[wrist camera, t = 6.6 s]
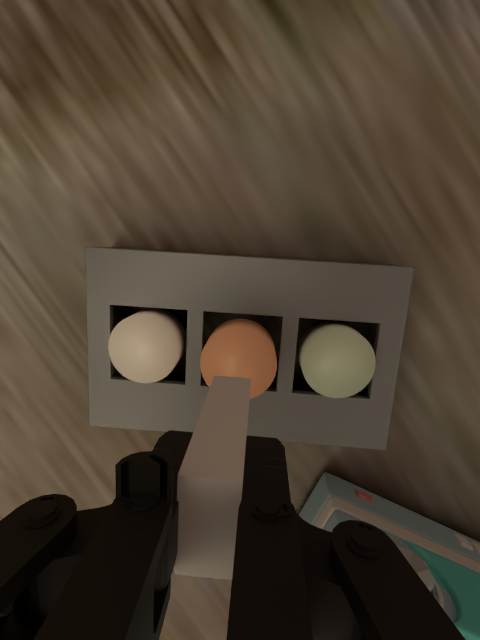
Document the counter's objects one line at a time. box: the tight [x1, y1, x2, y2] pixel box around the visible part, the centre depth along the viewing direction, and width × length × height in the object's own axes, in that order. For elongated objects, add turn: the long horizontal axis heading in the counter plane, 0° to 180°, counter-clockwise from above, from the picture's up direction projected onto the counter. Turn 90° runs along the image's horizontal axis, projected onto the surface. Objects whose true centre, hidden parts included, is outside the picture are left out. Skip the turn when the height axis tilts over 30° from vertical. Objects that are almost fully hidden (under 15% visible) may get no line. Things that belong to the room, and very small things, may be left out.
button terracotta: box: [200, 319, 277, 399], centre depth 22 cm, size 4×4×2 cm
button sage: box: [298, 320, 376, 398], centre depth 23 cm, size 4×4×2 cm
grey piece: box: [85, 247, 414, 450], centre depth 25 cm, size 20×12×4 cm, turn 87°
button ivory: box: [108, 308, 186, 383], centre depth 23 cm, size 4×4×2 cm
